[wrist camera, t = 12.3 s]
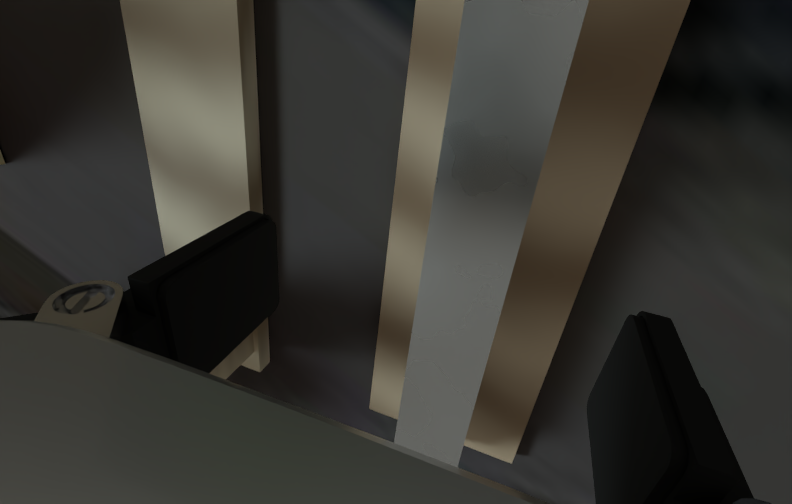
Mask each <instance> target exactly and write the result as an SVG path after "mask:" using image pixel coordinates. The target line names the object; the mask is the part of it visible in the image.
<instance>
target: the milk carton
mask: <svg viewBox="0 0 792 504" xmlns="http://www.w3.org/2000/svg"><path fill="white" fill-rule="evenodd" d="M2 164H5V161H4V159H3V156H2V153H1V151H0V165H2Z"/></svg>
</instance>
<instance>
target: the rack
mask: <svg viewBox="0 0 792 504" xmlns="http://www.w3.org/2000/svg"><path fill="white" fill-rule="evenodd" d="M120 5H121V11H122V16H123V22H124V28H125V33H126V39H127V44H128V50H129V56H130V61H131V67H132V72H133V78H134V84H135V89H136V95H137V100H138V106H139V112H140V117H141V123H142V128H143V134H144V140H145V145H146V151H147V157H148V162H149V168H150V173H151V179H152V185H153V190H154V196H155V201H156V207H157V213H158V218H159V224H160V229H161V235H162V241H163V246H164V252H165V256H166V255H168V254H170V253H172V252H174V251H175V250H177V249H179V248H181V247H183V246H185V245H186V244H188V243H190V242H192V241H194V240H195V239H197V238H199V237H201V236H203V235H205V234H206V233H208V232H210V231H212V230H214V229H216V228H217V227H219V226H221V225H223V224H225V223H226V222H228V221H230V220H232V219H234V218H236V217H237V216H239V215H241V214H243V213H245V212H247V211H254V212H258V213H262V214H263V199H262V177H261V156H260V134H259V112H258V91H257V69H256V48H255V26H254V4H253V0H120ZM269 362H270V350H269V328H268V317H267V318H266V319H265V320H264V321H263V322H262V323H261V324H260V325H259V326H258V327H257V328H256V329H255V330H254V331H253V332H252V333H251V334H250V335H249V336H248V337H247V338H246V339H245V340H244V341H242V342H241V343H240V344H239V345H238V346H237V347H236V348H235V349H234V350H233V351H232V352H231V353H230V354H229V355H228V356H227V357H226V358H225V359H224V360H223V361H222V362H221V363H220V364H219V365H218V366H217V367H215V368H214V369H213V370H212V371H211V372H210V373H209V374H212V375H214V376H217V377H220V378H222V379H225V380H226V379H227V378H228V377H229V376H230V375H231V374H232V373H233V372H234V371H235V370H236V369H237V368H238V367H239V366H240V365H242V366H245V367H247V368H250V369H252V370H255V371H258V372H261V371H262V370H263V369H264V368H265V367H266V366H267V365H268V363H269Z"/></svg>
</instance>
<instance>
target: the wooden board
mask: <svg viewBox="0 0 792 504" xmlns="http://www.w3.org/2000/svg"><path fill="white" fill-rule="evenodd" d="M464 1H465V0H416V5H415V14H414V22H413V31H412V40H411V49H410V57H409V66H408V75H407V84H406V92H405V101H404V110H403V118H402V127H401V136H400V145H399V153H398V162H397V171H396V180H395V188H394V197H393V206H392V215H391V223H390V232H389V241H388V249H387V258H386V267H385V276H384V284H383V293H382V302H381V311H380V319H379V328H378V337H377V345H376V354H375V363H374V372H373V380H372V389H371V398H370V407H369V409H371V410H374V411H376V412H379V413H382V414H384V415H387V416H389V417H392V418H395V419H397V420H398V415H399V409H400V402H401V396H402V390H403V384H404V377H405V371H406V365H407V358H408V352H409V346H410V340H411V333H412V327H413V321H414V315H415V308H416V302H417V296H418V289H419V283H420V277H421V271H422V264H423V258H424V252H425V246H426V239H427V233H428V227H429V220H430V214H431V208H432V202H433V195H434V189H435V183H436V177H437V170H438V164H439V158H440V151H441V145H442V139H443V133H444V126H445V120H446V114H447V108H448V101H449V95H450V89H451V82H452V76H453V70H454V64H455V57H456V51H457V45H458V38H459V32H460V26H461V20H462V13H463V7H464ZM689 3H690V0H589V2H588V6H587V9H586V13H585V16H584V20H583V23H582V27H581V30H580V34H579V38H578V41H577V45H576V48H575V52H574V55H573V59H572V62H571V66H570V69H569V73H568V77H567V80H566V84H565V87H564V91H563V94H562V98H561V101H560V105H559V108H558V112H557V116H556V119H555V123H554V126H553V130H552V133H551V137H550V140H549V144H548V147H547V151H546V155H545V158H544V162H543V165H542V169H541V172H540V176H539V179H538V183H537V186H536V190H535V194H534V197H533V201H532V204H531V208H530V211H529V215H528V218H527V222H526V225H525V229H524V233H523V236H522V240H521V243H520V247H519V250H518V254H517V257H516V261H515V264H514V268H513V272H512V275H511V279H510V282H509V286H508V289H507V293H506V296H505V300H504V303H503V307H502V311H501V314H500V318H499V321H498V325H497V328H496V332H495V335H494V339H493V342H492V346H491V350H490V353H489V357H488V360H487V364H486V367H485V371H484V374H483V378H482V381H481V385H480V389H479V392H478V396H477V399H476V403H475V406H474V410H473V413H472V417H471V420H470V424H469V428H468V431H467V435H466V438H465V442H464V446H467V447H470V448H472V449H475V450H477V451H480V452H483V453H485V454H488V455H490V456H493V457H495V458H498V459H501V460H503V461H506V462H508V463H511V464H512V462H513V459H514V457H515V454H516V451H517V449H518V446H519V444H520V441H521V438H522V436H523V433H524V431H525V428H526V425H527V423H528V420H529V418H530V415H531V412H532V410H533V407H534V405H535V402H536V399H537V397H538V394H539V392H540V389H541V387H542V384H543V381H544V379H545V376H546V374H547V371H548V368H549V366H550V363H551V361H552V358H553V355H554V353H555V350H556V348H557V345H558V342H559V340H560V337H561V335H562V332H563V330H564V327H565V324H566V322H567V319H568V317H569V314H570V311H571V309H572V306H573V304H574V301H575V298H576V296H577V293H578V291H579V288H580V285H581V283H582V280H583V278H584V275H585V273H586V270H587V267H588V265H589V262H590V260H591V257H592V254H593V252H594V249H595V247H596V244H597V241H598V239H599V236H600V234H601V231H602V228H603V226H604V223H605V221H606V218H607V216H608V213H609V210H610V208H611V205H612V203H613V200H614V197H615V195H616V192H617V190H618V187H619V184H620V182H621V179H622V177H623V174H624V171H625V169H626V166H627V164H628V161H629V159H630V156H631V153H632V151H633V148H634V146H635V143H636V140H637V138H638V135H639V133H640V130H641V127H642V125H643V122H644V120H645V117H646V114H647V112H648V109H649V107H650V104H651V102H652V99H653V96H654V94H655V91H656V89H657V86H658V83H659V81H660V78H661V76H662V73H663V70H664V68H665V65H666V63H667V60H668V57H669V55H670V52H671V50H672V47H673V45H674V42H675V39H676V37H677V34H678V32H679V29H680V26H681V24H682V21H683V19H684V16H685V13H686V11H687V8H688V6H689Z"/></svg>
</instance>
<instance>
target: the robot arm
mask: <svg viewBox="0 0 792 504" xmlns="http://www.w3.org/2000/svg"><path fill="white" fill-rule="evenodd" d="M128 280H129V284H130V289H128V290H127V291H125V292H124V291H123V288H122V287H121V286H120V285H119V284H117V283H115V282H112V281H105V280H94V281H87V282H81V283H77V284H74V285H70V286H68V287H65V288H63V289H61V290H59V291H57V292H56V293H54V294H53V295H51V296H50V297H49V298H48V299H47V300H46V301H45V302H44V304H43V306H42V308H41V309H40V311H39V313H33V314H26V315H20V316H13V317H7V318H0V504H550V503H547V502H545V501H542V500H540V499H537V498H535V497H532V496H530V495H527V494H525V493H522V492H520V491H517V490H515V489H512V488H510V487H507V486H505V485H502V484H499V483H497V482H494V481H492V480H489V479H486V478H484V477H481V476H479V475H476V474H473V473H471V472H468V471H466V470H463V469H460V468H458V467H455V466H452V465H450V464H447V463H445V462H442V461H439V460H437V459H434V458H432V457H429V456H426V455H424V454H421V453H419V452H416V451H413V450H411V449H408V448H406V447H403V446H400V445H398V444H395V443H393V442H390V441H387V440H385V439H382V438H379V437H377V436H374V435H372V434H369V433H366V432H364V431H361V430H358V429H356V428H353V427H350V426H348V425H345V424H342V423H340V422H337V421H335V420H332V419H329V418H327V417H324V416H321V415H319V414H316V413H313V412H311V411H308V410H305V409H303V408H300V407H297V406H295V405H292V404H289V403H287V402H284V401H281V400H279V399H276V398H274V397H271V396H268V395H266V394H263V393H260V392H258V391H255V390H252V389H249V388H247V387H244V386H241V385H239V384H236V383H233V382H231V381H228V380H225V379H222V378H220V377H217V376H214V375H212V374H209V373H210V372H211V371H212V370H213V369H214V368H215V367H217V366H218V365H219V364H220V363H221V362H222V361H223V360H224V359H225V358H226V357H227V356H228V355H229V354H230V353H231V352H232V351H233V350H234V349H235V348H236V347H237V346H238V345H239V344H240V343H241V342H242V341H244V340H245V339H246V338H247V337H248V336H249V335H250V334H251V333H252V332H253V331H254V330H255V329H256V328H257V327H258V326H259V325H260V324H261V323H262V322H263V321H264V320H265V319H266V318H267V317H268V316H270V315H271V314H272V313H273V312H274V311H275V309H276V308H277V306H278V303H279V283H278V260H277V238H276V225H275V223H274V222H273V221H272V219H271V217H270V216H269V215H266V214H262V213H258V212H254V211H247V212H245V213H243V214H241V215H239V216H237V217H236V218H234V219H232V220H230V221H228V222H226V223H225V224H223V225H221V226H219V227H217V228H216V229H214V230H212V231H210V232H208V233H206V234H205V235H203V236H201V237H199V238H197V239H195V240H194V241H192V242H190V243H188V244H186V245H185V246H183V247H181V248H179V249H177V250H175V251H174V252H172V253H170V254H168V255H166V256H164V257H163V258H161V259H159V260H157V261H155V262H153V263H152V264H150V265H148V266H146V267H144V268H143V269H141V270H139V271H137V272H135V273H133V274H132V275H130V276H128ZM587 417H588V427H589V437H590V447H591V457H592V467H593V478H594V488H595V498H596V504H771V503H769V502H766V501H762V500H758V499H755V498H753V495H752V493H751V491H750V489H749V486H748V484H747V482H746V480H745V477H744V475H743V473H742V471H741V469H740V466H739V464H738V462H737V460H736V457H735V455H734V453H733V451H732V448H731V446H730V444H729V442H728V439H727V437H726V435H725V433H724V431H723V428H722V426H721V424H720V422H719V419H718V417H717V415H716V413H715V410H714V408H713V406H712V404H711V401H710V399H709V397H708V395H707V393H706V392H705V390H704V389H703V388H702V387H701V386H700V384H699V381H698V379H697V377H696V375H695V372H694V370H693V368H692V366H691V363H690V361H689V359H688V356H687V354H686V352H685V350H684V347H683V345H682V343H681V340H680V338H679V336H678V334H677V331H676V329H675V327H674V324H673V322H672V320H671V319H670V318H667V317H663V316H660V315H656V314H652V313H648V312H644V311H641V312H639V313H638V314H637V316H635V315H629V316H628V317H627V319H626V321H625V323H624V325H623V327H622V329H621V331H620V333H619V335H618V337H617V339H616V341H615V344H614V346H613V348H612V350H611V352H610V354H609V356H608V358H607V360H606V362H605V364H604V366H603V368H602V371H601V373H600V375H599V377H598V379H597V381H596V383H595V385H594V387H593V389H592V391H591V393H590V396H589V399H588V403H587Z"/></svg>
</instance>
